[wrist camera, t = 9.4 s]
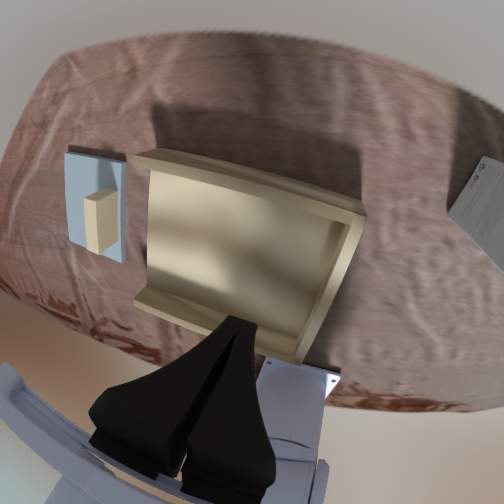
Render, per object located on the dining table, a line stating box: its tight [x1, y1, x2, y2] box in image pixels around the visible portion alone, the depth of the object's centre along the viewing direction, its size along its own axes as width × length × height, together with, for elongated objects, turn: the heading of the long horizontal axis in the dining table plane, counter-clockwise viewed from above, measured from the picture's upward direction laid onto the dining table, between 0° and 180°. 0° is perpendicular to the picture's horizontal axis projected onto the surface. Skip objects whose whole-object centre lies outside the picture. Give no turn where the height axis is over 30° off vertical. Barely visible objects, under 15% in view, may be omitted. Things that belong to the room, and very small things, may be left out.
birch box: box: [133, 148, 368, 366], centre depth 21 cm, size 14×16×4 cm
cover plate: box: [65, 151, 127, 263], centre depth 23 cm, size 10×8×4 cm
